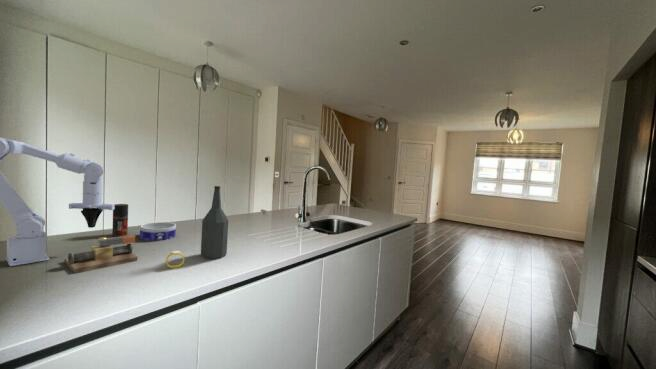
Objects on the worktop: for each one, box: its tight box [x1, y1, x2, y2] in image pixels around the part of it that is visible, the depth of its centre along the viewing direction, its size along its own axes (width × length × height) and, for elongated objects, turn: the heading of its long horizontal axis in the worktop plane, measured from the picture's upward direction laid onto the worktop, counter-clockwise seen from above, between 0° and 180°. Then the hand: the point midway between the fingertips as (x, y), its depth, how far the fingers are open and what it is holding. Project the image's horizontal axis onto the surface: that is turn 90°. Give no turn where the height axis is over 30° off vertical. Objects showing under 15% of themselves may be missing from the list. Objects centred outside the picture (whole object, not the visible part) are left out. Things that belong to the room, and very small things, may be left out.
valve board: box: [63, 243, 138, 274], centre depth 102 cm, size 18×14×6 cm
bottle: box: [200, 185, 229, 260], centre depth 116 cm, size 10×10×30 cm
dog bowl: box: [139, 221, 177, 242], centre depth 137 cm, size 15×15×6 cm
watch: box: [165, 250, 185, 269], centre depth 102 cm, size 6×3×6 cm, turn 122°
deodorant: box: [112, 203, 129, 238], centre depth 134 cm, size 6×6×15 cm
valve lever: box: [97, 235, 136, 247], centre depth 105 cm, size 11×3×3 cm, turn 140°
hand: (91, 227), depth 109 cm, fingers closed
